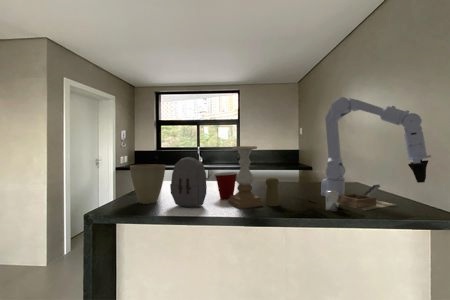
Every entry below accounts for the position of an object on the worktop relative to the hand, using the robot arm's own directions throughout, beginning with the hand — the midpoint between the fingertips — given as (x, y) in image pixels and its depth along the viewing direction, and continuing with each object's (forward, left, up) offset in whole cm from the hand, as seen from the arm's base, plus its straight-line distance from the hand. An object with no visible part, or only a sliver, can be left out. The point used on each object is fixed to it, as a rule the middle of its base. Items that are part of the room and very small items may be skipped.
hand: (421, 181), depth 98 cm
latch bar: (-14, -10, -6) cm, 18 cm away
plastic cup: (-50, -57, -11) cm, 77 cm away
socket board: (-12, -15, -10) cm, 22 cm away
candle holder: (-36, -55, -11) cm, 67 cm away
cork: (-31, -45, -11) cm, 56 cm away
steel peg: (-14, -30, -11) cm, 35 cm away
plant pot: (-59, -90, -11) cm, 108 cm away
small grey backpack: (-43, -77, -11) cm, 89 cm away
